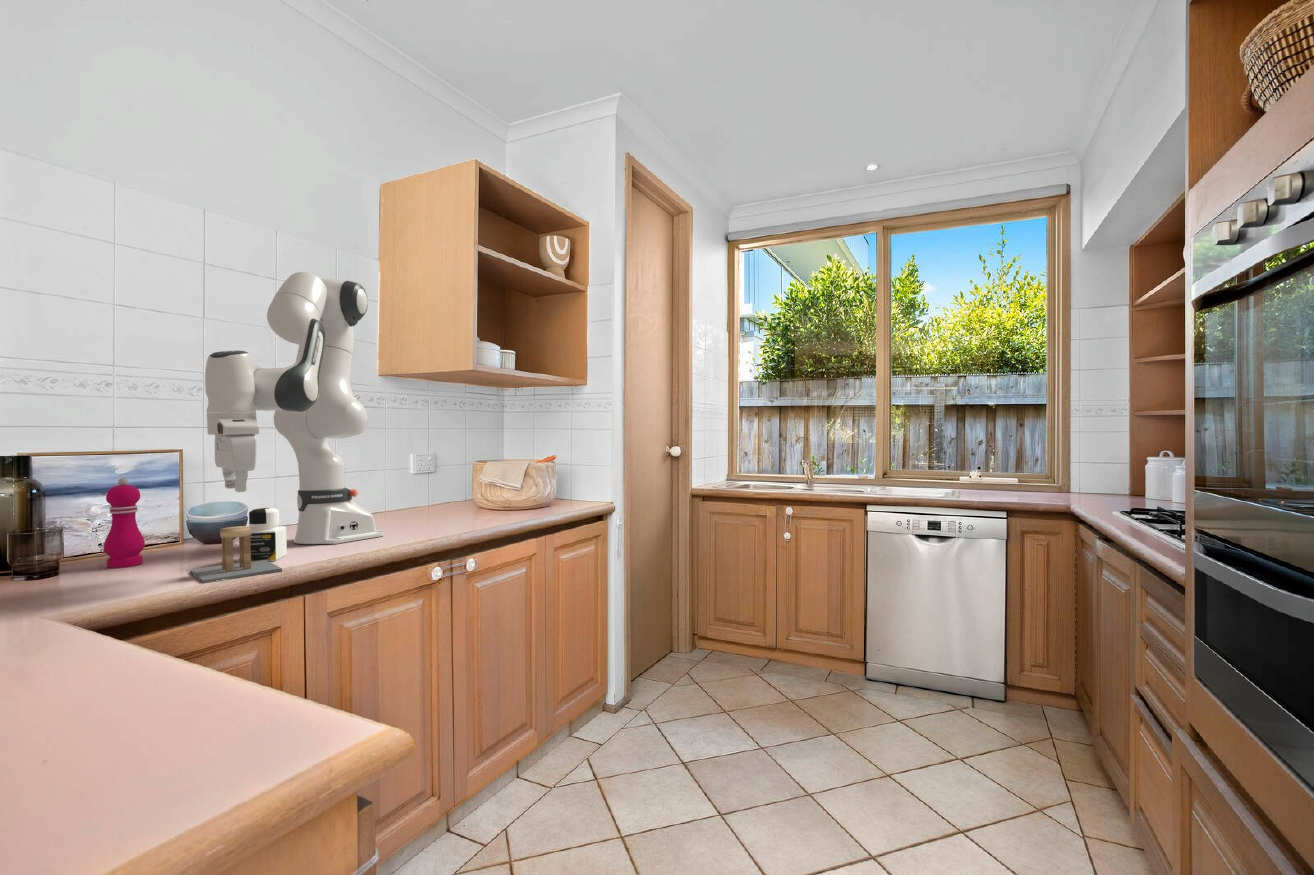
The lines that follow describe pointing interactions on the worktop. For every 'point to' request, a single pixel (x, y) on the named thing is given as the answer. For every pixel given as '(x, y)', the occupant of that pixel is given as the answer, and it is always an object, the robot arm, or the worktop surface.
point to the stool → (244, 547)
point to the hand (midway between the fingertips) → (235, 490)
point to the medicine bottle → (267, 535)
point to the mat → (235, 571)
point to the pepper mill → (123, 527)
